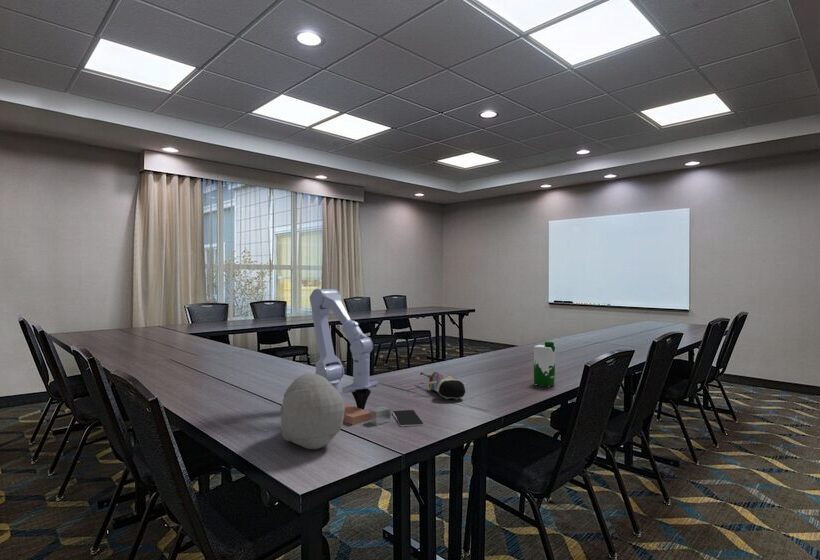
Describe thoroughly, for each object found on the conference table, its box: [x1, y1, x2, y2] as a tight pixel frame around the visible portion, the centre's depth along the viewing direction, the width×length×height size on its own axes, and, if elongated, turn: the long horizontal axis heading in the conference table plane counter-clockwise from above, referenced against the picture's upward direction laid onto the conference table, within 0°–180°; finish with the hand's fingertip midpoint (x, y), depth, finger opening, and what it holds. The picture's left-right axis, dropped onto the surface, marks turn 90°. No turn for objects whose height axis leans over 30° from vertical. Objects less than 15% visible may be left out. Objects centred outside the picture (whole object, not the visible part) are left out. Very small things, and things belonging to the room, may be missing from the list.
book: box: [343, 403, 369, 426], centre depth 150 cm, size 14×8×3 cm, turn 45°
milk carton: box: [533, 341, 557, 387], centre depth 201 cm, size 9×9×20 cm
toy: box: [419, 371, 471, 400], centre depth 185 cm, size 23×9×30 cm
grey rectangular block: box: [368, 405, 391, 426], centre depth 146 cm, size 4×6×4 cm, turn 133°
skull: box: [280, 372, 345, 450], centre depth 128 cm, size 17×27×20 cm, turn 28°
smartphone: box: [391, 409, 424, 428], centre depth 149 cm, size 8×1×15 cm
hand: (360, 410), depth 153 cm, fingers closed
